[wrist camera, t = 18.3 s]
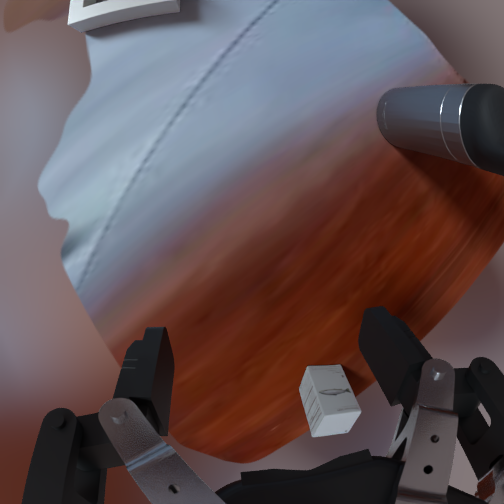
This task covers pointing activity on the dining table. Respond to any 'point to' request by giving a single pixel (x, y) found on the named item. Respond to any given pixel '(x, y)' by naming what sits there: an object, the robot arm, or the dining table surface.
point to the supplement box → (328, 400)
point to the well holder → (115, 11)
